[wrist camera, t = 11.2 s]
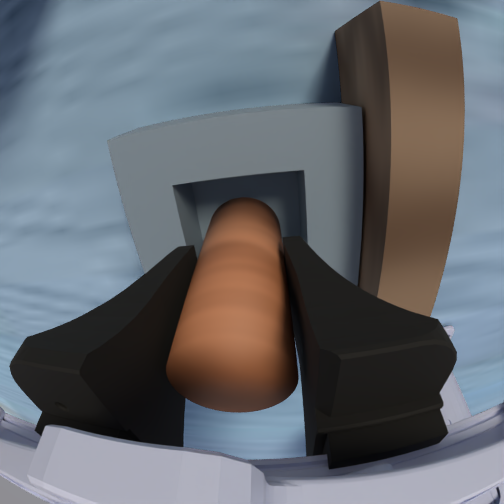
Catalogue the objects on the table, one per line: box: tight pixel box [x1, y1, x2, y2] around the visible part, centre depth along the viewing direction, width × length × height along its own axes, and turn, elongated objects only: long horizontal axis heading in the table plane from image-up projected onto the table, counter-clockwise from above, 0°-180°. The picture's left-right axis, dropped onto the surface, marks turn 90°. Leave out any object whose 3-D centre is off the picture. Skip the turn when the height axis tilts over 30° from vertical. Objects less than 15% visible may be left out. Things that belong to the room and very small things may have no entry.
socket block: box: [107, 103, 363, 286], centre depth 14 cm, size 10×10×4 cm
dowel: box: [166, 197, 298, 412], centre depth 10 cm, size 3×3×8 cm
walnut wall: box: [335, 1, 465, 317], centre depth 12 cm, size 16×3×6 cm, turn 6°
